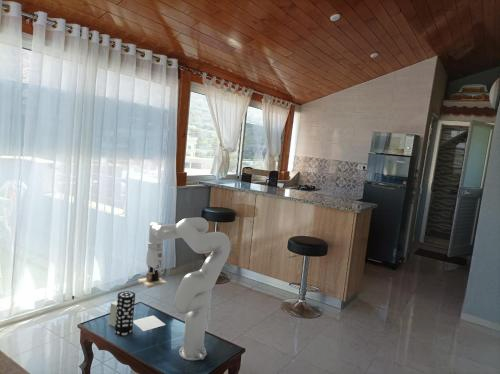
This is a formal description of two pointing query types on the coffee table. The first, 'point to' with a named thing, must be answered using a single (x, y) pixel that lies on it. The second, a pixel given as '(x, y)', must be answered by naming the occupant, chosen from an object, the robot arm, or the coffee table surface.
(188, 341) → the robot arm
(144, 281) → the lid
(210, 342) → the coffee table surface
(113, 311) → the skincare box
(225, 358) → the coffee table surface
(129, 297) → the spotted tube
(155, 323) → the mat
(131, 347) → the coffee table surface
